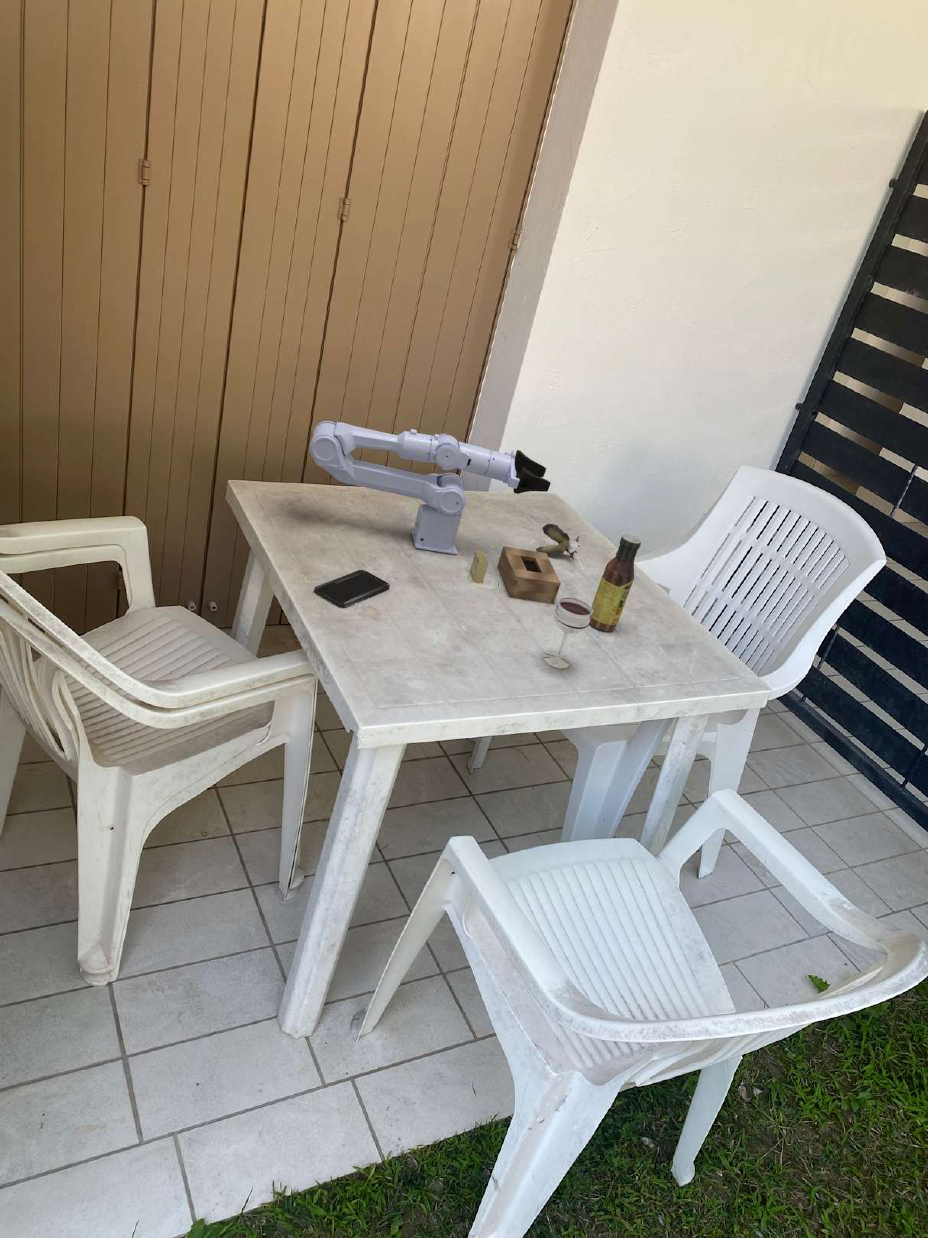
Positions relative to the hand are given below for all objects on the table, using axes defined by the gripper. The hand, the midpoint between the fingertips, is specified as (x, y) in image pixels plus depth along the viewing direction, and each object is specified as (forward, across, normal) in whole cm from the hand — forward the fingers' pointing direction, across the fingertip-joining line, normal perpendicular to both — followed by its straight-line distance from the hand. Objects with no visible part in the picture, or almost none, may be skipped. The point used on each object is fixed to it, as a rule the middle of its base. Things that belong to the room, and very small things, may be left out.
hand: (546, 479), depth 201 cm
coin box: (+1, -12, +20) cm, 23 cm away
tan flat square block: (-10, -13, +20) cm, 26 cm away
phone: (-36, -30, +22) cm, 51 cm away
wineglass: (+3, -42, +18) cm, 46 cm away
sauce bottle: (+16, -24, +19) cm, 34 cm away
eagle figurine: (+11, +8, +20) cm, 24 cm away
